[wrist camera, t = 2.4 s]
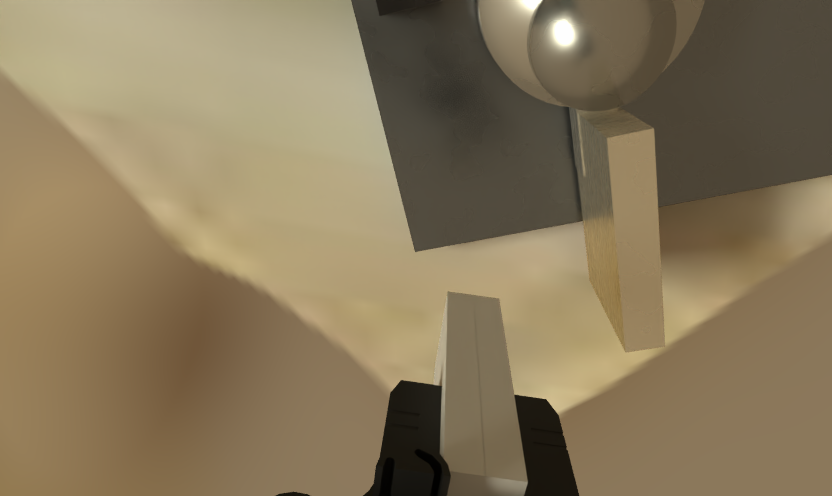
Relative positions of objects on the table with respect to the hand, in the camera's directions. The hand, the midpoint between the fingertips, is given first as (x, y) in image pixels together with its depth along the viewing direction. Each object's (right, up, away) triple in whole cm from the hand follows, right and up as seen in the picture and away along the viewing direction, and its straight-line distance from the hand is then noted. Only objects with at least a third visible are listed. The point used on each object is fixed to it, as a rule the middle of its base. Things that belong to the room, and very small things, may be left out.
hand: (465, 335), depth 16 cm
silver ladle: (+6, +9, +7) cm, 13 cm away
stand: (+6, +13, +8) cm, 17 cm away
